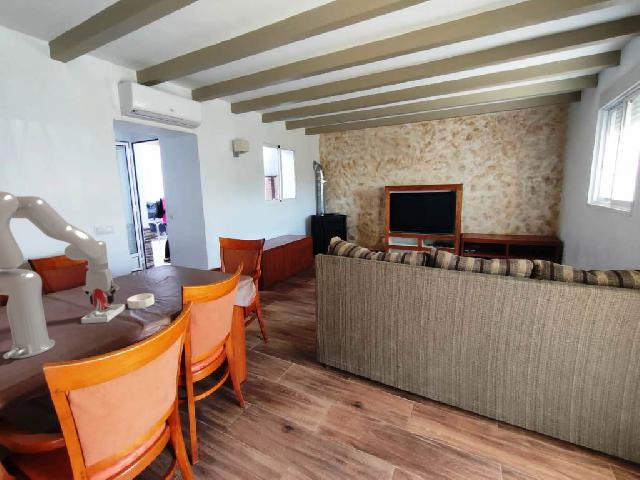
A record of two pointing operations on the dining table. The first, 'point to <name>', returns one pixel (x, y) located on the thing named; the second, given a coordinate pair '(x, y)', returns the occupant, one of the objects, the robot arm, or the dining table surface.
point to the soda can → (100, 300)
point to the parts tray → (98, 319)
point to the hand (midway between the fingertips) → (102, 303)
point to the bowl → (140, 301)
